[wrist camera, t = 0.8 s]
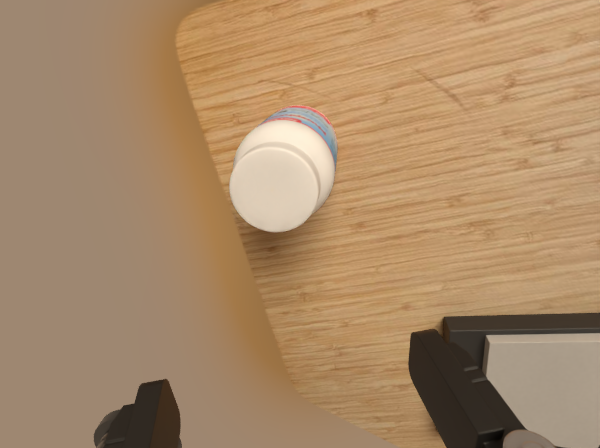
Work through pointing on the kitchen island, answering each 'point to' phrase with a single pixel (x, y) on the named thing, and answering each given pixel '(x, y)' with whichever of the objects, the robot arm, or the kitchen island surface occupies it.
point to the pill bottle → (284, 169)
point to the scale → (540, 369)
